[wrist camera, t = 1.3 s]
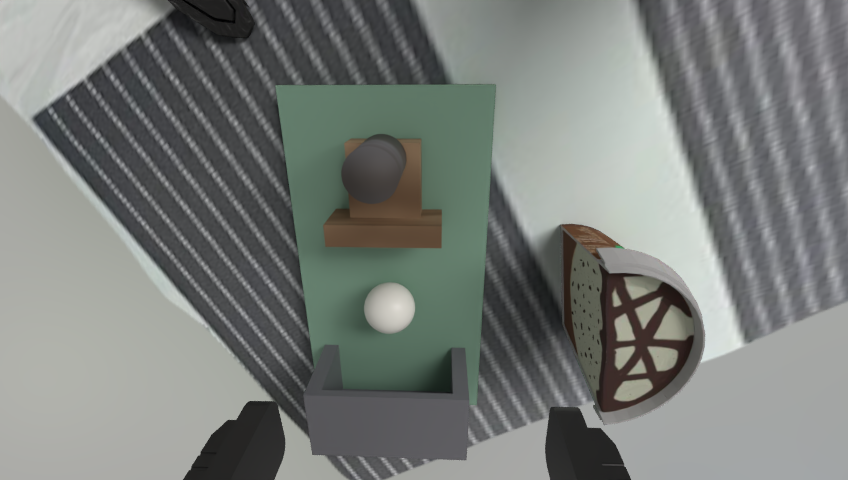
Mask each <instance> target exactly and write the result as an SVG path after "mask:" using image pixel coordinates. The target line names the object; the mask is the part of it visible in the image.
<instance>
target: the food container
mask: <svg viewBox="0 0 848 480" xmlns="http://www.w3.org/2000/svg"><path fill="white" fill-rule="evenodd" d="M560 232H561V294H562V325H563V328H564V330H565V333H566V335H567V337H568V340H569V342H570V345H571V347H572V350H573V352H574V354H575V357H576V359H577V362H578V364H579V366H580V369H581V371H582V374H583V376H584V379H585V381H586V383H587V386H588V388H589V391H590V393H591V395H592V398H593V400H594V403H595V405H593V408H594V409H595V411H596V413H597V415H598V416H599V418H600V420H602V422H603V424H604V425H608V424H616V423H621V422H625V421H629V420H633V419H635V418H638V417H641V416H644V415H646V414H648V413H650V412H652V411H654V410H656V409H658V408H659V407H661V406H662V405H664V404H665V403H667V402H669V401H670V400H671V399H672V398H673V397H675V396H676V395H677V394H678V393H679V392H680V391H681V390H682V389H683V388H684V387H685V386H686V384H688V382H689V381H690V380H691V378H692V376H693V375H694V374H695V372H696V370H697V368H698V366H699V364H700V361H701V359H702V355H703V351H704V347H705V331H704V325H703V320H702V314H701V312H700V309H699V307H698V304H697V302H696V300H695V299H694V297H693V295H692V294H691V292H690V290H689V289H688V287H687V286H686V284H685V283H684V281H683V280H682V278H681V277H680V276H679V275H678V274H677V273H676V272H675V271H674V270H673V269H672V268H671V267H669V266H668V265H666V264H665V263H663V262H662V261H660V260H659V259H657V258H654V257H652V256H650V255H647V254H645V253H642V252H638V251H634V250H630V249H625V248H623V247H622V246H621V245H619V244H618V243H616V242H615V241H613V240H612V239H611V238H609V237H608V236H606V235H605V234H603V233H602V232H600V231H598V230H596V229H594V228H591V227H588V226H583V225H577V224H562V225H560Z"/></svg>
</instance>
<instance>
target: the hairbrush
mask: <svg viewBox="0 0 848 480" xmlns="http://www.w3.org/2000/svg"><path fill="white" fill-rule="evenodd" d="M168 1H169V2H170V3H171V4H172V5H173V6H174V7H175V8H176V9H177V10H179V11H180V12H182V13H184V14H185V15H187V16H188V17H190V18H192V19H193V20H195V21H196V22H198V23H200V24H201V25H203V26H204V27H206V28H208V29H209V30H211V31H212V32H214V33H215V34H217V35H222V36H228V37H234V38H246V37H249V35H250V34H251V31H252V29H253V26H254V24H255V23H254V20H253V18H252V16H251V14H250V13H249V11H248V9H247V8H246V6H245V5H244V3H243V1H244V0H243V1H242V0H187V1H188V2H190V3H191V4H193V5H195V6H196V7H198V8H199V9H201V10H203V11H204V12H206V13H208V14H209V15H211V16H212V17H214V18H218V19H221V20H223V21H229V20H233V21H235V23H233V24H231V23H225V22H219V21H217V20H215V19H214V18H212V17H210V16H209V15H207V14H205V13H204V12H202V11H201V10H199V9H198V8H196V7H194V6H193V5H191V4H190V3H188V2H187V1H185V0H168ZM244 2H245V1H244ZM245 4H246V5H247V3H246V2H245ZM247 6H248V5H247ZM248 7H249V6H248ZM235 9H236V10H235ZM235 12H236V18H235Z"/></svg>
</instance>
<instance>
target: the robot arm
mask: <svg viewBox="0 0 848 480" xmlns="http://www.w3.org/2000/svg"><path fill="white" fill-rule="evenodd" d="M284 451H285V436H284V431H283V427H282V423H281V418H280V414H279V410H278V405H277V403H276V402H274V401H249V402H248V403H247V404H246V405H245V406H244V408H243V410H242V411H241V413H240V415H239V416H238V418H237V420H228V421H226V422H225V423H224V424H223V425H222V426H221V427H220V428H219V429H218V430H216V431H215V432H214V433H213V434H212V435H211V437H210V438H209V440H208V441H207V443H206V444H205V446H204V448H203V449H202V451H201V454H200V456H198V457H197V459H196V460H195V462H194V463H193V465H192V468H191V470H189V471H188V473H187V474H186V476H185V478H184V479H183V480H274V479H275V477H276V474H277V472H278V469H279V467H280V464H281V462H282V459H283V456H284ZM545 453H546V462H547V468H548V472H549V476H550V480H631V479H630V476H629V474H628V472H627V469H626V467H624V463H623V460H622V458H621V456H620V454H619V451H618V449H617V447H616V445H615V444H614V443H613V441H612V440H611V439H610V438H609V437H608V436H607V435H606V434H605V433H604V432H603V430H602V429H601V428H587V425H586V423H585V420H584V418H583V415H582V413H581V411H580V409H579V408H578V407H551V408H550V413H549V420H548V429H547V436H546V445H545Z"/></svg>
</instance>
